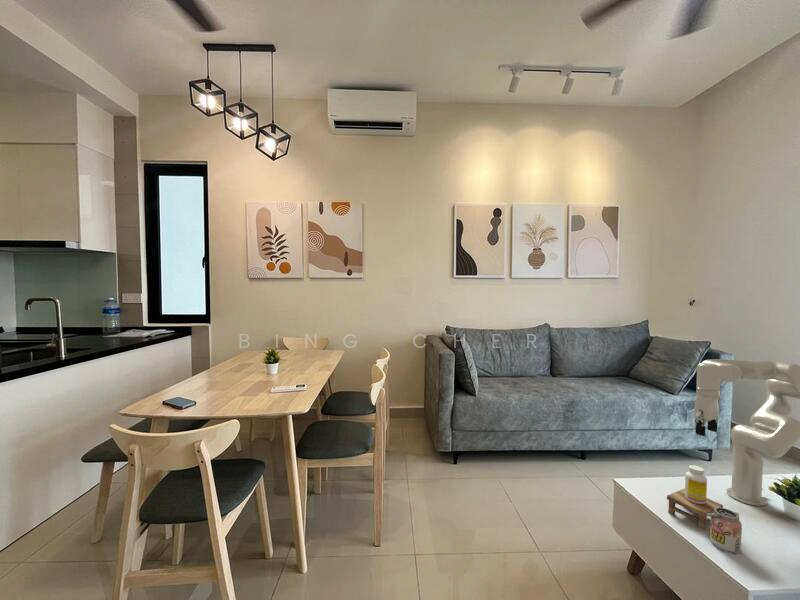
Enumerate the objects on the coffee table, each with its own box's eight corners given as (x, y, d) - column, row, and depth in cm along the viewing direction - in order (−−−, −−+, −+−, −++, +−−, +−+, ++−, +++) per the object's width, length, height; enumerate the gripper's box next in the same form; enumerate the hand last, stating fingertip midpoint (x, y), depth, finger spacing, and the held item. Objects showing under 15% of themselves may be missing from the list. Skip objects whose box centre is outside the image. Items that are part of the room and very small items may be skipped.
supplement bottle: (710, 506, 140) (711, 473, 140) (690, 503, 141) (691, 471, 141) (699, 496, 147) (700, 465, 146) (680, 494, 148) (682, 463, 148)
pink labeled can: (700, 536, 133) (701, 504, 132) (721, 535, 134) (722, 503, 133) (725, 555, 124) (727, 520, 123) (747, 553, 124) (749, 519, 124)
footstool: (684, 504, 153) (684, 488, 153) (722, 522, 141) (723, 505, 141) (666, 512, 147) (666, 495, 147) (704, 531, 135) (705, 513, 135)
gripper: (707, 388, 161) (706, 426, 161) (686, 392, 153) (685, 433, 153) (728, 392, 154) (727, 432, 154) (707, 397, 146) (706, 439, 147)
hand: (706, 432), depth 154 cm, fingers open, 9 cm apart
